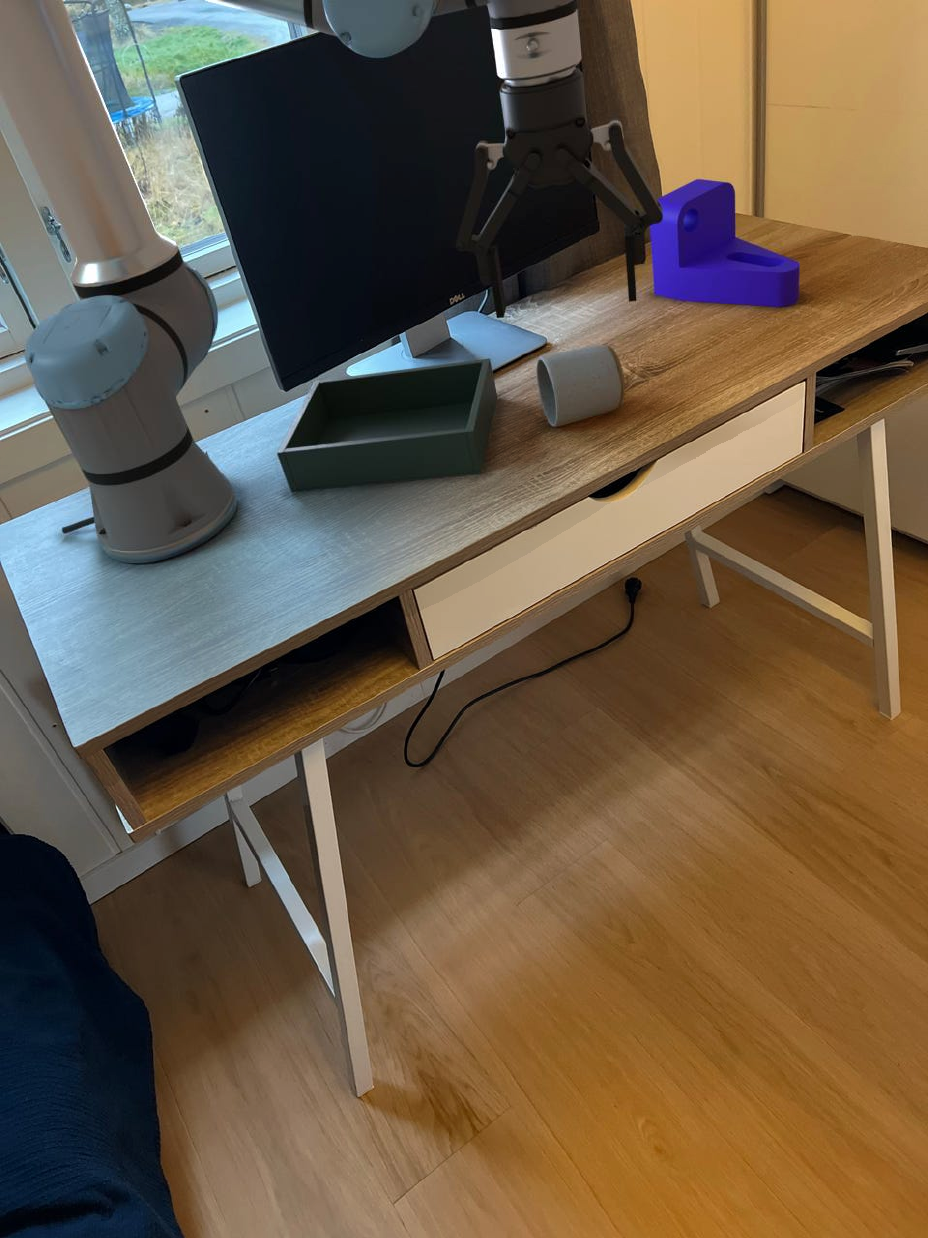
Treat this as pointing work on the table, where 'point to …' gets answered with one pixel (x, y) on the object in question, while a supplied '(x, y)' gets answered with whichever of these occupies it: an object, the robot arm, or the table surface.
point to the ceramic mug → (580, 383)
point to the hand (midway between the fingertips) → (566, 304)
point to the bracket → (715, 253)
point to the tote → (391, 427)
